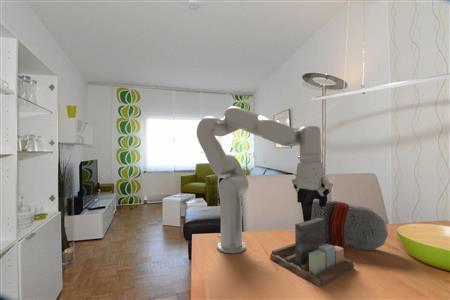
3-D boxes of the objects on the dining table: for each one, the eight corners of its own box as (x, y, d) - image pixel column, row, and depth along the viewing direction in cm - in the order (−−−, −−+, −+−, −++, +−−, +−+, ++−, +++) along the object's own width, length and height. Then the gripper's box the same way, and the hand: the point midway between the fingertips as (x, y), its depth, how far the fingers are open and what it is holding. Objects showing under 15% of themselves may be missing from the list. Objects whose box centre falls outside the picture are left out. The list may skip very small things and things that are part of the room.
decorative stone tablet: (312, 199, 105) (391, 212, 92) (313, 197, 111) (387, 208, 98) (308, 241, 105) (386, 259, 93) (309, 236, 111) (383, 253, 98)
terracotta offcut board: (328, 267, 83) (328, 248, 83) (336, 264, 86) (335, 245, 86) (336, 271, 81) (336, 251, 81) (343, 267, 83) (343, 248, 83)
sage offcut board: (309, 276, 77) (308, 253, 77) (317, 272, 80) (317, 249, 80) (316, 280, 75) (316, 256, 75) (325, 276, 77) (325, 252, 77)
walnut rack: (270, 258, 90) (270, 251, 90) (303, 247, 101) (303, 240, 101) (319, 286, 72) (319, 277, 72) (353, 268, 82) (353, 260, 82)
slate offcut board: (319, 271, 80) (318, 246, 80) (327, 268, 83) (327, 243, 83) (326, 275, 78) (326, 249, 78) (335, 271, 80) (334, 246, 80)
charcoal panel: (295, 267, 83) (295, 224, 83) (319, 257, 91) (319, 217, 91) (301, 270, 81) (300, 225, 81) (325, 260, 89) (324, 219, 89)
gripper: (285, 159, 91) (286, 201, 91) (324, 159, 77) (326, 210, 77) (298, 158, 95) (299, 199, 95) (337, 158, 81) (338, 207, 81)
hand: (311, 204), depth 86 cm, fingers open, 9 cm apart
